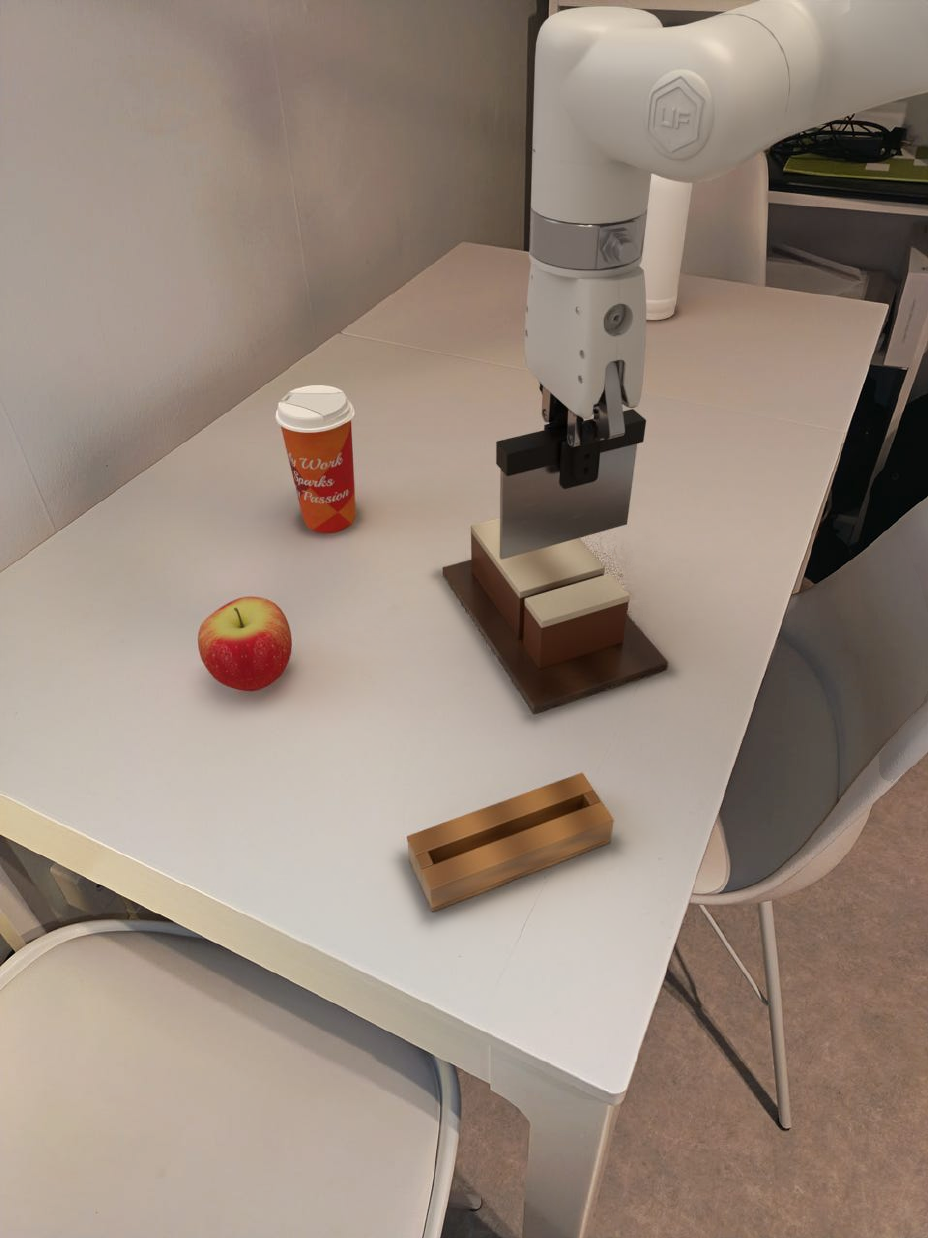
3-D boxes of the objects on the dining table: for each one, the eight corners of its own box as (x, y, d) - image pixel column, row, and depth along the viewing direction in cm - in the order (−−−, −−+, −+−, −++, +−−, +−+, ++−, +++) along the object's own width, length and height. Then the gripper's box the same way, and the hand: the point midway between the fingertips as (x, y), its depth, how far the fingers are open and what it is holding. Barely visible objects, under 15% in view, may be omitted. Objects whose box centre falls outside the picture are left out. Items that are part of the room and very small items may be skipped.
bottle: (679, 305, 147) (709, 99, 127) (669, 323, 141) (699, 112, 121) (632, 298, 149) (654, 96, 129) (620, 316, 144) (641, 108, 124)
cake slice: (605, 620, 87) (610, 572, 83) (623, 642, 85) (630, 594, 81) (522, 646, 85) (524, 598, 81) (539, 669, 82) (541, 621, 78)
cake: (558, 542, 99) (562, 488, 94) (667, 669, 83) (677, 613, 79) (442, 574, 95) (440, 520, 90) (533, 714, 79) (536, 658, 75)
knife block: (579, 795, 73) (582, 772, 71) (610, 842, 69) (614, 819, 67) (408, 858, 68) (406, 835, 66) (432, 912, 65) (430, 890, 63)
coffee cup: (282, 532, 101) (259, 414, 91) (312, 493, 107) (294, 378, 97) (350, 544, 99) (335, 424, 89) (376, 504, 105) (365, 387, 95)
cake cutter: (620, 517, 77) (633, 408, 70) (632, 529, 76) (646, 419, 69) (495, 552, 74) (495, 441, 67) (505, 565, 72) (507, 453, 65)
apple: (210, 717, 80) (185, 635, 73) (208, 653, 86) (185, 573, 79) (302, 700, 81) (285, 618, 74) (293, 639, 87) (277, 559, 81)
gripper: (704, 266, 54) (664, 515, 66) (578, 194, 65) (564, 420, 77) (597, 286, 52) (576, 540, 64) (485, 209, 63) (485, 438, 75)
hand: (569, 473), depth 70 cm, fingers closed on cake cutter, 2 cm apart
